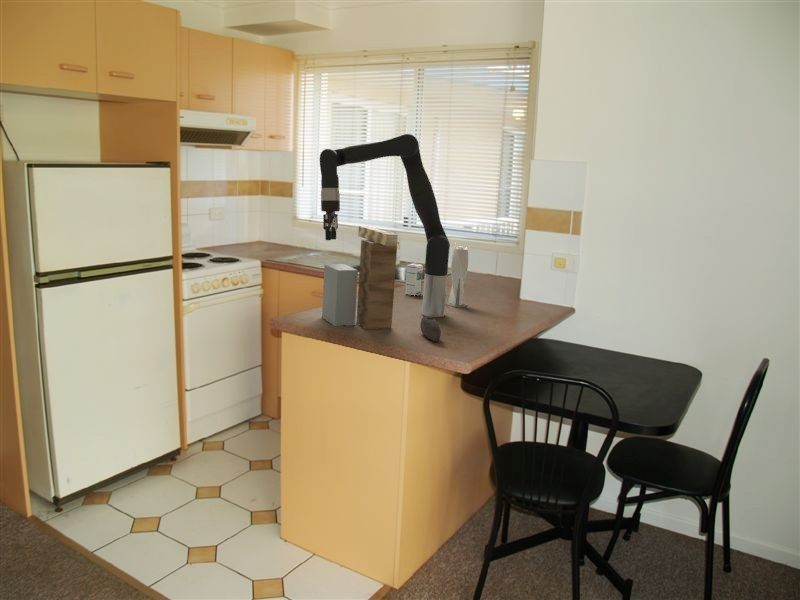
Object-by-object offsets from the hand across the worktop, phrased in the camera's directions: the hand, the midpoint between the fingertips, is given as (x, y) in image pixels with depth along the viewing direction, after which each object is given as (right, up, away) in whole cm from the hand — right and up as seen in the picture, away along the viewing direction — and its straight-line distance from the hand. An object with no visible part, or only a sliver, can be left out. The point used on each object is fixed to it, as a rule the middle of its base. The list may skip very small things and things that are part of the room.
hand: (331, 239), depth 273 cm
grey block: (+4, -33, -16) cm, 37 cm away
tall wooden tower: (+18, -34, -19) cm, 43 cm away
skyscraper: (+53, -27, +28) cm, 66 cm away
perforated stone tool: (+39, -39, -32) cm, 64 cm away
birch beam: (+19, -3, -24) cm, 31 cm away
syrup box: (+34, -22, +45) cm, 61 cm away
